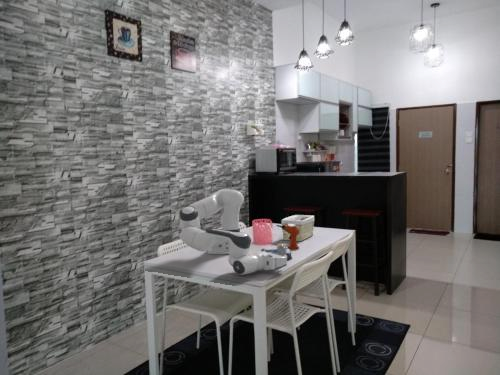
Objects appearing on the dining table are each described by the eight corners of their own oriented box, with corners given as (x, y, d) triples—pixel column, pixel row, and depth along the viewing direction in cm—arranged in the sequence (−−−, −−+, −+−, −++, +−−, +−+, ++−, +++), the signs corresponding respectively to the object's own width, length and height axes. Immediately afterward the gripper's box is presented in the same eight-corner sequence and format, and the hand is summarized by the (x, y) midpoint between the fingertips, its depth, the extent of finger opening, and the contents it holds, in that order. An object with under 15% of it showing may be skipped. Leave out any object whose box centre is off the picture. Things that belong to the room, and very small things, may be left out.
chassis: (261, 261, 218) (260, 255, 218) (259, 254, 232) (259, 248, 232) (292, 259, 219) (292, 253, 218) (289, 253, 233) (289, 247, 232)
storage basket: (295, 233, 288) (294, 214, 286) (316, 235, 279) (315, 215, 278) (281, 240, 267) (280, 219, 266) (302, 242, 259) (301, 220, 258)
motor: (278, 266, 207) (277, 246, 206) (277, 263, 212) (276, 244, 211) (287, 265, 207) (286, 245, 206) (286, 263, 212) (285, 243, 211)
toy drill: (278, 242, 256) (279, 220, 253) (300, 250, 242) (302, 227, 240) (273, 243, 252) (274, 221, 250) (295, 251, 239) (297, 228, 236)
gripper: (247, 262, 206) (266, 257, 215) (275, 270, 191) (294, 264, 200) (247, 251, 206) (266, 246, 215) (275, 257, 191) (293, 252, 200)
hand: (279, 255), depth 207 cm, fingers open, 8 cm apart
